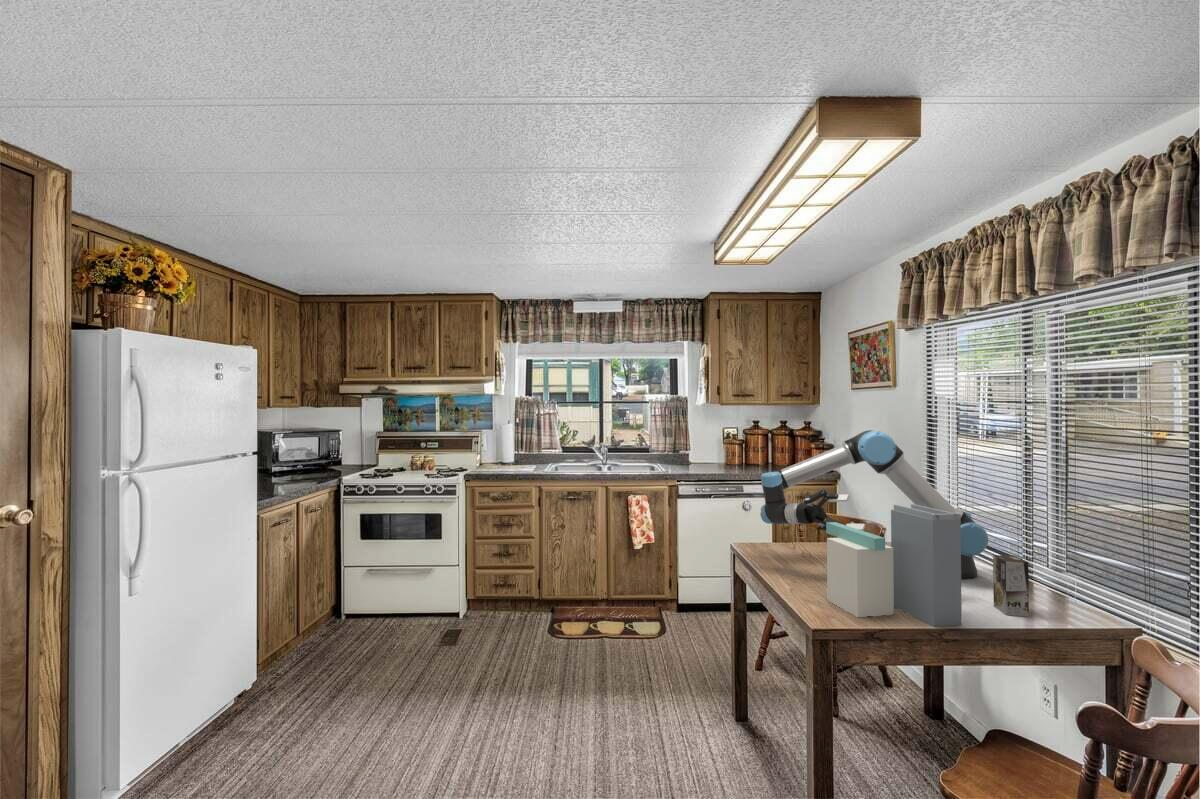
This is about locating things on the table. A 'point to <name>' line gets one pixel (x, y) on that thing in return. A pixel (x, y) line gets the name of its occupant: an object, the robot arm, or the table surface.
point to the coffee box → (1011, 585)
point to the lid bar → (856, 536)
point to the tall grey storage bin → (927, 564)
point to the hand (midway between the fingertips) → (856, 512)
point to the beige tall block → (860, 578)
